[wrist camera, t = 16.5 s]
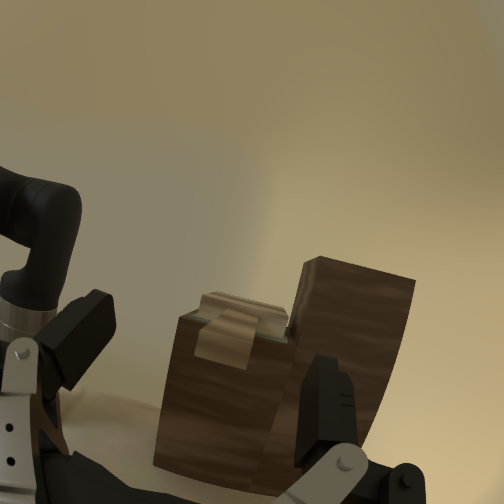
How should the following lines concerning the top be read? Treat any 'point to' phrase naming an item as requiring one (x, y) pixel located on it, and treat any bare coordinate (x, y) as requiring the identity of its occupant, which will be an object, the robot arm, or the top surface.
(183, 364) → the two-tone wooden block
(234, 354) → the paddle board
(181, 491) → the top surface
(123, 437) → the top surface
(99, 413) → the top surface
